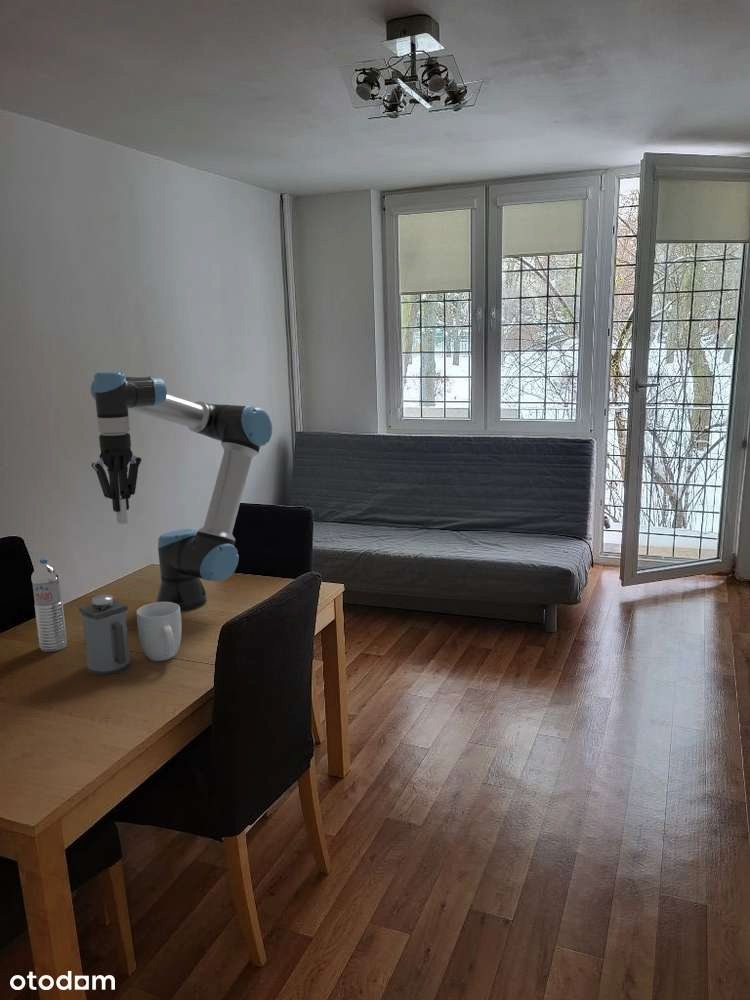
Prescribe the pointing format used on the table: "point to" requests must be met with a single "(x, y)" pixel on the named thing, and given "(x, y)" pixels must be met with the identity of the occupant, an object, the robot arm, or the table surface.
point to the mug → (159, 629)
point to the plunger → (102, 601)
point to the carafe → (105, 638)
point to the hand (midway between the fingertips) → (122, 522)
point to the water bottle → (49, 608)
